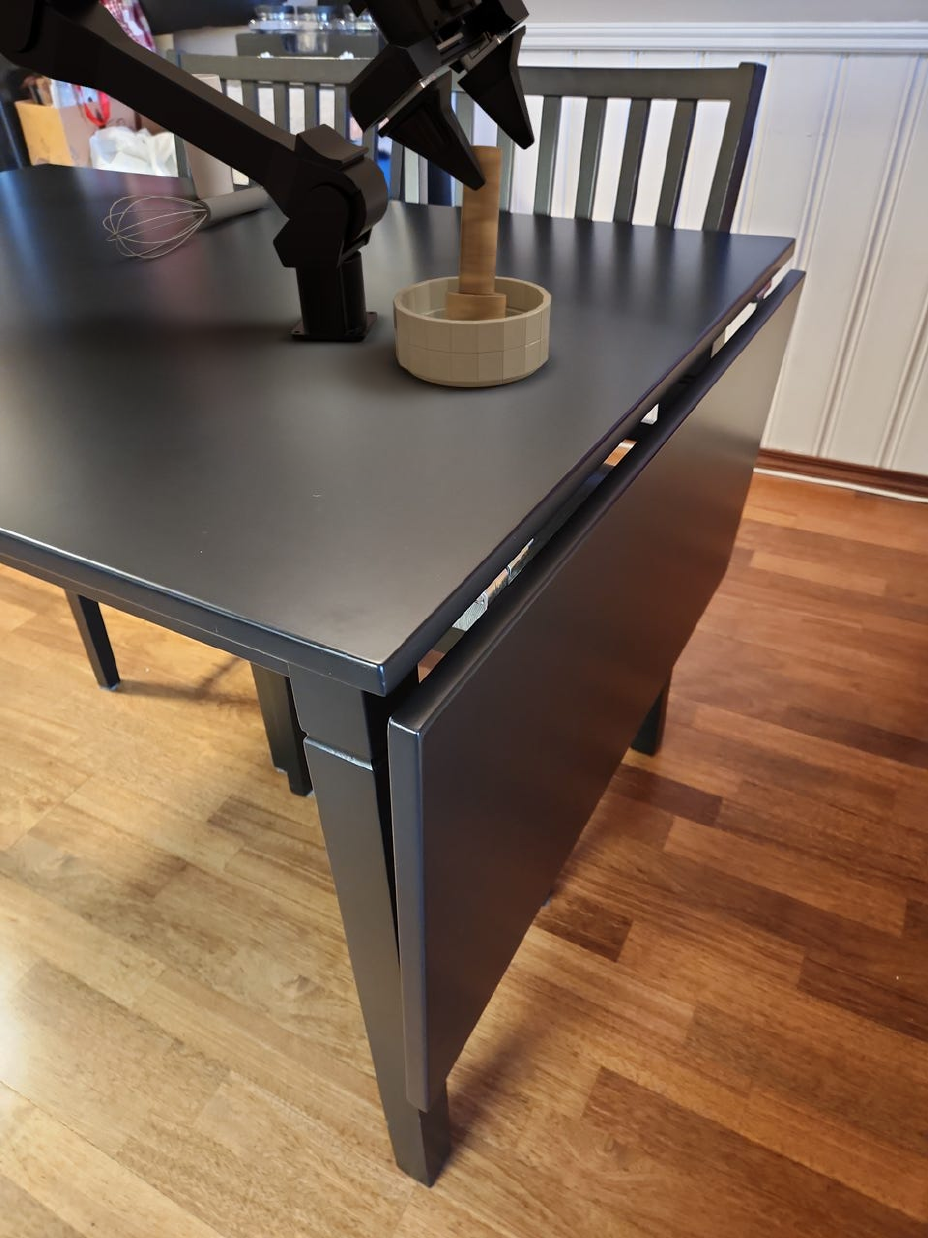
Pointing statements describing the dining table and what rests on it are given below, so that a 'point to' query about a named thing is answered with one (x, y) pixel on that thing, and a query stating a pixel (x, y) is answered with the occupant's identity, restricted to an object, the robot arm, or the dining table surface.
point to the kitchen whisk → (200, 212)
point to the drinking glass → (208, 160)
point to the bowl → (471, 335)
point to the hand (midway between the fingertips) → (506, 165)
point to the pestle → (479, 246)
